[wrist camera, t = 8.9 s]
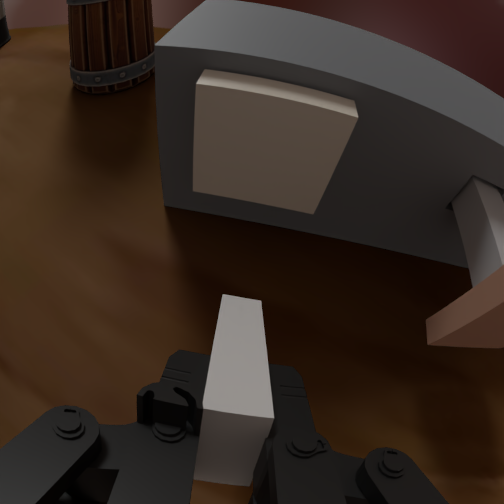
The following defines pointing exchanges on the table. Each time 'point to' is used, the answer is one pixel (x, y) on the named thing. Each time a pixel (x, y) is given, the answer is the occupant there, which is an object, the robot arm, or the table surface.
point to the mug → (110, 44)
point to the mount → (362, 137)
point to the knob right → (476, 273)
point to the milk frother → (3, 25)
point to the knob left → (267, 139)
